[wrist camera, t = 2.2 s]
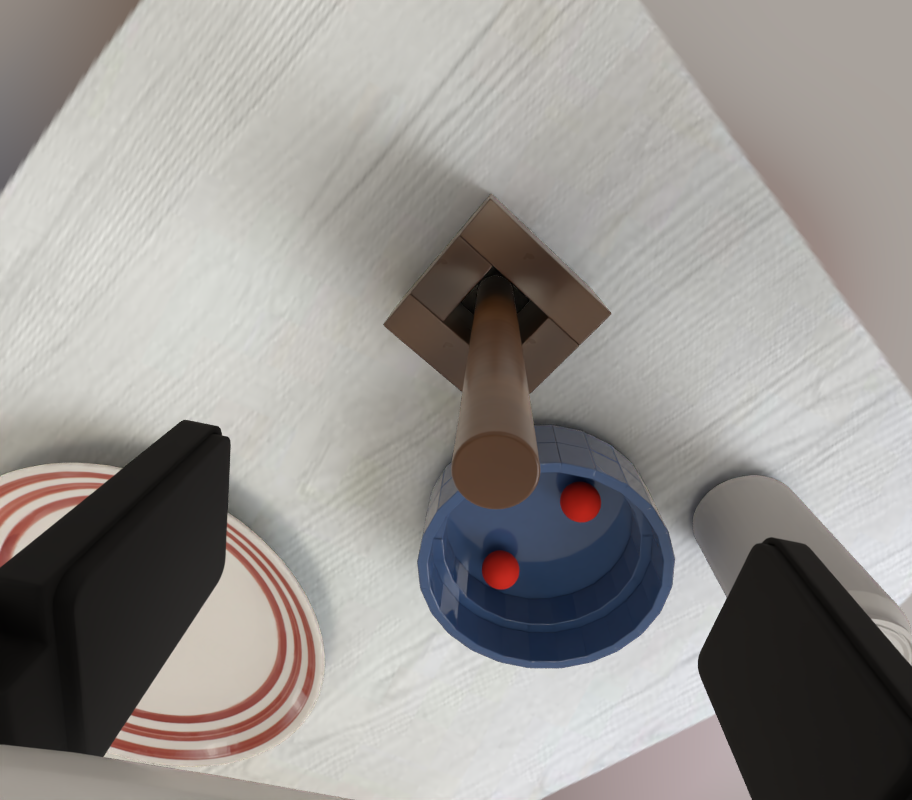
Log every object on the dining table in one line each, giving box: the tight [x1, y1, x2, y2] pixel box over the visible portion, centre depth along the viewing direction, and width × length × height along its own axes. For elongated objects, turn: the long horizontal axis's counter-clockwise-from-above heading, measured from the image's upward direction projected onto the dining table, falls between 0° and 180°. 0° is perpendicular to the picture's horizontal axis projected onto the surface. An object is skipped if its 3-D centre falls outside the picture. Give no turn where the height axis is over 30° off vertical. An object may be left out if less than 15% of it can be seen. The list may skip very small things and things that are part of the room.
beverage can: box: [693, 475, 912, 666], centre depth 30 cm, size 6×6×12 cm
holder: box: [383, 194, 611, 394], centre depth 28 cm, size 7×7×6 cm
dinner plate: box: [0, 463, 325, 767], centre depth 40 cm, size 27×27×3 cm
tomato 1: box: [482, 550, 519, 590], centre depth 35 cm, size 2×2×2 cm
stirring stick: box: [451, 276, 540, 509], centre depth 22 cm, size 2×2×20 cm
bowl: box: [417, 425, 675, 668], centre depth 34 cm, size 14×14×6 cm
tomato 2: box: [560, 482, 601, 522], centre depth 33 cm, size 2×2×2 cm
